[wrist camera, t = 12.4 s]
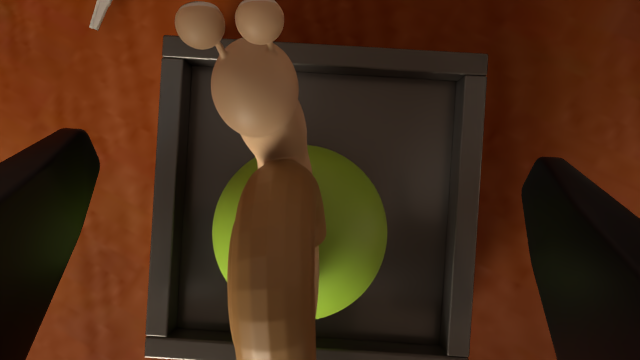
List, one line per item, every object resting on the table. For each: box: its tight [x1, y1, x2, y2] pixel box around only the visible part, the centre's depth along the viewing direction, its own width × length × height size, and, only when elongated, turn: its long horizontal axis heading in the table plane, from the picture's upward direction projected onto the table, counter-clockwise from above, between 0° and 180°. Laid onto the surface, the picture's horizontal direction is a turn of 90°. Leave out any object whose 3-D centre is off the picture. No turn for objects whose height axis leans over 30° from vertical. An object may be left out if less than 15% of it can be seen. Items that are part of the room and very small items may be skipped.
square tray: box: [145, 35, 488, 360], centre depth 18 cm, size 12×12×4 cm
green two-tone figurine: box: [175, 0, 387, 360], centre depth 11 cm, size 5×6×12 cm
